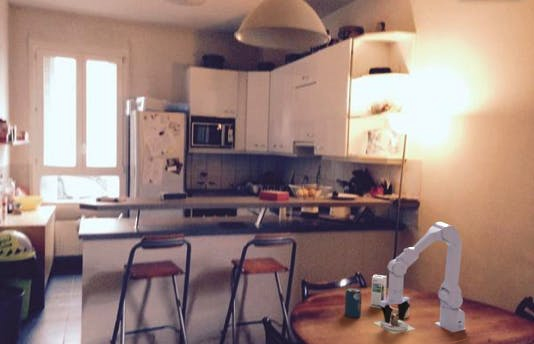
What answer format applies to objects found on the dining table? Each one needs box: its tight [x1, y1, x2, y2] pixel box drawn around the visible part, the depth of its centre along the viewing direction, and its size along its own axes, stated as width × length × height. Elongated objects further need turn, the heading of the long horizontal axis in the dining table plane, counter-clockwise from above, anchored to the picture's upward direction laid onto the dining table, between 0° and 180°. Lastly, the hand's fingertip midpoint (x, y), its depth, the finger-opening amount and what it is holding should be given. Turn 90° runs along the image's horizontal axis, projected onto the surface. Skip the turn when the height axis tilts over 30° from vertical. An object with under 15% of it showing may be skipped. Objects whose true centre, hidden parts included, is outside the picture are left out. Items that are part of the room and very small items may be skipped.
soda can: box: [344, 287, 363, 319], centre depth 190 cm, size 7×7×12 cm
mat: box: [373, 320, 416, 335], centre depth 180 cm, size 12×12×1 cm
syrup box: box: [370, 274, 388, 309], centre depth 203 cm, size 6×6×14 cm
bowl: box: [389, 304, 410, 319], centre depth 193 cm, size 9×9×4 cm
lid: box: [380, 313, 409, 332], centre depth 180 cm, size 11×11×5 cm
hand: (394, 321), depth 180 cm, fingers open, 7 cm apart
